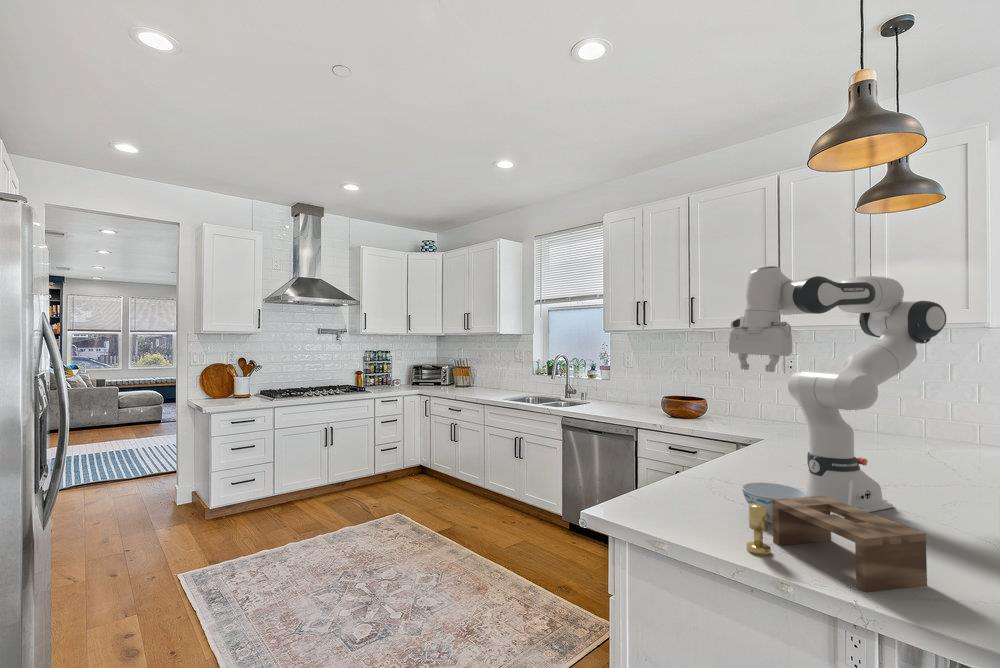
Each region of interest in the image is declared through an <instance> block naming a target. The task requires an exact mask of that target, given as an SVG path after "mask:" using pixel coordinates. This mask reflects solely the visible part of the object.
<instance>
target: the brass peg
mask: <svg viewBox="0 0 1000 668" xmlns="http://www.w3.org/2000/svg"><path fill="white" fill-rule="evenodd" d="M748 524H749V525H748V526H749V527H748V528H749V529H751V530H753V541H749V542H746V551H747V552H748V553H750V554H751V555H755V556H760V557H768V556H770V555H771V554H772V552H771V551H772V549H771V546H770V545H769V544H766V543H764V532H766V531H768V522H767V507H766V506H765V505H762V504H755V503H753V504H748Z"/></svg>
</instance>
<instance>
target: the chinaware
mask: <svg viewBox="0 0 1000 668" xmlns="http://www.w3.org/2000/svg"><path fill="white" fill-rule="evenodd" d="M741 490H742V494H743V497H744V499H745V501H746V503H747V505H749V504H753V503H755V504H762V505H765V506H766V507H767V523H771V524H773V514H772V499H784V498H798V497H806V493H805V491H803V490H802V489H800V488H797V487H795V486H790V485H784V484H779V483H775V482H774V483H772V482H748V483H745V484H743V485H742V488H741Z"/></svg>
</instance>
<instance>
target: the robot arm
mask: <svg viewBox="0 0 1000 668" xmlns="http://www.w3.org/2000/svg"><path fill="white" fill-rule="evenodd" d="M745 292H746V294H745V300H746V306H745V308H744V314H743V315H741V316H740V317H738V318H736V319H734V320H731V322H730V328H731V331H730V333H729V339H728V350H729V353H731V354H738V355H737V358H738V360H739V363H740V370H742V371H743V370H746V371H748V370H749V369H750V363H748V361H747V359H748V356H749V355H752V356H753V355H754V356H755V355H757V356H758V355H759V356H768V359H769V361H768V362H769V363H768V364H765V368H764V370H765V372H767V373H774V372H775V371H776V366H777V364H778V362H779V361H780V357H790V356H791V354H792V353H793V336H792V326H791V325H790V324H789V323H788V322H787V321H780V315H783V316H791V315H806V314H807V315H809V314H815V315H817V314H820V315H821V314H825V313H827V312H830V311H831V310H833V309H834V308H836V307H838V309H839V310H840V311H843V312H845V313H846V312H847V313H852V314H859V320H858V321H859V322H858V323H859V326H860V328H861V330H862V332H863V333H864V334H865V335H867V336H870V337H874V338H878V339H876V341H874V342H872V343H870V344H868V345H866V346H864V347H862V348H861V349H858V350H857V351H854V353H852V354H850V355H848V356H846V357H845V358H844V360H843V365H842V367H841V368H836V369H814V368H811V369H810V368H809V369H802V370H799V371H797V372H796V371H795V372H794V373H793V374H792V375H790V377H789V379H788V383H787V389H788V394H790V396H791V397H792V398H793V399H794V400H795V402H797V404H798V405H799V407H800V409H801V411H802V414H803V416H804V418H805V422H806V426H807V435H808V436H807V437H808V452H807V455H806V458H807V459H806V460H807V461H806V463H807V467H808V471H807V481H806V485H805V486H806V487H805V491H804V492H805V493H806V497H812V496H825V497H828V498H831V499H834V500H836V501H839V502H842V503H845V504H847V505H850V506H853V507H855V508H858V509H861V510H864V511H866V512H869V513H873V512H878V511H882V510H887V509H892V508H894V505H893V504H894V503H892V502H891V501H890V500H886V499H884V498H883V493H882V487H881V485H880V484H879V482H878V481H875V480H874V479H873V478H872V477H871V476H869V475H868V474H866V473H865V472H864V471H863V470H862V469H861V466H860V465H862V466H867V465H868V461H869V460H868V459H867V458H863V457H856V455H855V432H854V430H853V427H852V426H851V425H850V424H848V422H847V421H845V419H843V417H842V415H841V413H840V410H842V411H858V410H859V411H860V410H861V411H862V410H867V409H870V408H871V407H873V406H874V404H875V403H876V402H877V401H878V396H879V388H878V386H879V385H881V384H884V383H885V382H886V381H888V380H890V379H892V378H893V377H895V376H897V375H898V374H900V373H901V372H902V371H904V370H905V369H907V368H908V367H909V366H910V365H911V364H912V363H913V362H914V361H915V360H916V359H917V355H918V351H917V344H927V343H929V342H930V341H931V339H932V338H934V337H935V336H937V335H938V334H939V333H941V331H942V330H943V329H944V327H945V326H946V323H947V313H946V311H945V309H944V307H943V306H942V305H941V304H939V303H937V302H935V301H931V300H930V301H929V300H919V301H915V300H914V301H912V300H911V301H904V299H903V298H904V295H905V291H904V287H903V286H902V283H900V282H899V281H897V280H896V279H894V278H890V277H885V276H878V275H877V276H874V275H864V276H863V275H861V276H854V277H849V278H845V279H842V280H840V281H839V282H837V281H833V280H832V279H829V278H828V277H825V276H820V275H817V276H816V275H815V276H812V277H808V278H804V279H797V280H792V279H790V278H789V277H788V276H786V275H785V274H784V273H783V272H782V270H781V268H780V267H779V266H776V265H775V266H774V265H773V266H772V265H771V266H764V267H758V268H754V269H753V270H751V271H750V273H749V276H748V279H747V284H746V291H745Z"/></svg>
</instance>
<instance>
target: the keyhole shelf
mask: <svg viewBox="0 0 1000 668" xmlns="http://www.w3.org/2000/svg"><path fill="white" fill-rule="evenodd" d="M831 513H833V514H831ZM772 514H773V523H772V543H775V544H776V545H778V546H784V545H785V546H787V545H795V544H806V543H807V544H808V543H818V542H829V541H832V533H833V534H835V535H838V536H840V537H842V538H844V539H847V540H849V541H851V542H853V543H855V544H854V545H855V546H854V547H855V549H854V550H855V584H856V585H855V587H856V588H857V589H859V590H860V591H863V592H865V593H871V592H879V591H881V592H882V591H888V590H889V591H890V590H897V589H898V590H899V589H906V588H915V587H923V586H928V566H927V565H928V564H927V534H926V532H924V531H921V530H918V529H916V528H913V527H910V526H908V525H904V524H902V523H899V522H897V521H894V520H890V519H889V518H888V519H887V518H886V517H883V516H880V515H877V514H874V513H873V512H866V511H864V510H861V509H858V508H855V507H853V506H850V505H847V504H845V503H842V502H839V501H836V500H834V499H831V498H828V497H825V496H812V497H798V498H784V499H772Z"/></svg>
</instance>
